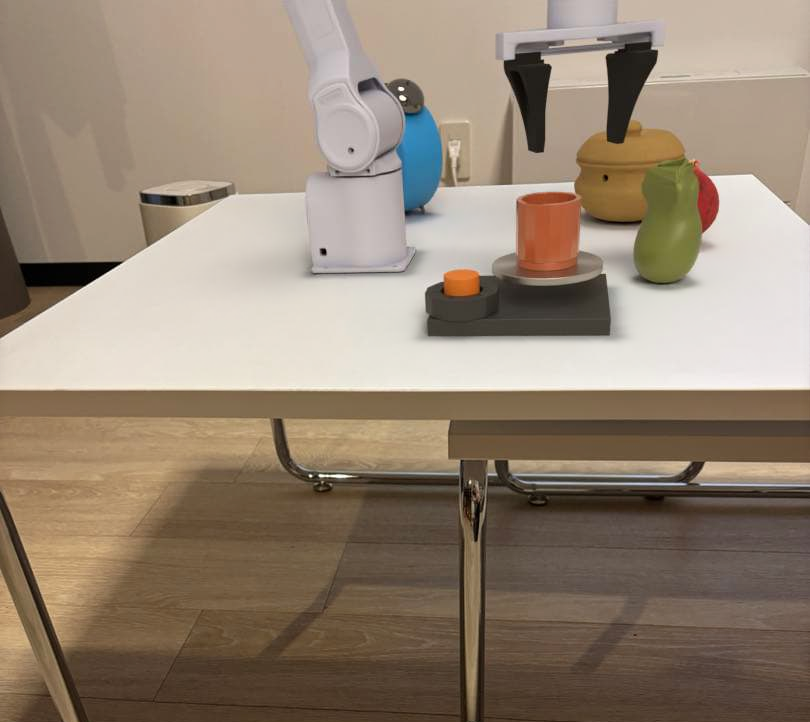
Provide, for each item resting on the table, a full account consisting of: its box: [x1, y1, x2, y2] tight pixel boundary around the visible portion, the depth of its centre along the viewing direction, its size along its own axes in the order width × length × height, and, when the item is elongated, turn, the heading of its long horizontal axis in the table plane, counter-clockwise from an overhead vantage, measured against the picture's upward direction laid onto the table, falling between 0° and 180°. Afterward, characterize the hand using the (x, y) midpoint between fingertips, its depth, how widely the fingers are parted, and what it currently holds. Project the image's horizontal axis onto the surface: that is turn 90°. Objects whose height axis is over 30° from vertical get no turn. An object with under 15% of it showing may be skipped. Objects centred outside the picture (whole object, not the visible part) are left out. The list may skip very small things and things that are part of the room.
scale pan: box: [491, 250, 604, 286], centre depth 68 cm, size 9×9×1 cm
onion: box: [688, 158, 720, 235], centre depth 80 cm, size 6×6×8 cm
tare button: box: [443, 268, 480, 296], centre depth 65 cm, size 3×3×2 cm
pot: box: [573, 119, 686, 223], centre depth 91 cm, size 12×12×10 cm
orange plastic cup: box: [515, 191, 582, 271], centre depth 66 cm, size 5×5×5 cm
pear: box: [632, 157, 703, 284], centre depth 70 cm, size 6×5×10 cm
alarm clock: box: [384, 77, 444, 215], centre depth 100 cm, size 13×6×15 cm, turn 40°
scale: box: [424, 273, 612, 337], centre depth 68 cm, size 14×12×3 cm
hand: (575, 147), depth 74 cm, fingers open, 7 cm apart
